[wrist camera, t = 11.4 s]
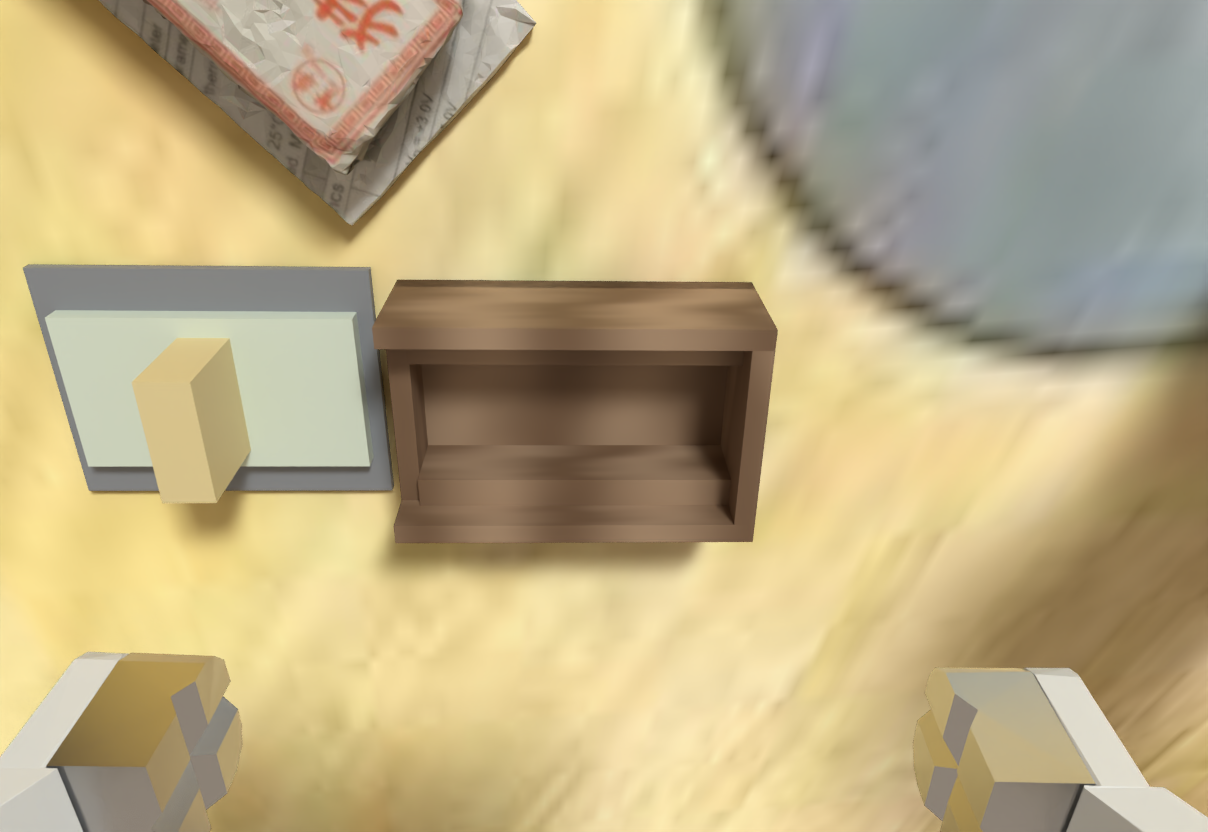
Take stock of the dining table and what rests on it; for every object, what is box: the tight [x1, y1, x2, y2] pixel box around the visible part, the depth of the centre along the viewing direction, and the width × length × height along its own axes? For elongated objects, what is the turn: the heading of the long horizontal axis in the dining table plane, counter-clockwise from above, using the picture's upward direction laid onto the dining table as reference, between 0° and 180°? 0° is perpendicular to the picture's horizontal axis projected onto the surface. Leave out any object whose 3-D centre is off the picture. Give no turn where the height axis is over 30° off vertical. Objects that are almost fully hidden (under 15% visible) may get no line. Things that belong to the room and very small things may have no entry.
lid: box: [45, 310, 374, 503], centre depth 34 cm, size 12×7×5 cm, turn 89°
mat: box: [23, 265, 394, 491], centre depth 36 cm, size 13×10×1 cm
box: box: [372, 280, 778, 543], centre depth 35 cm, size 14×9×5 cm, turn 89°
